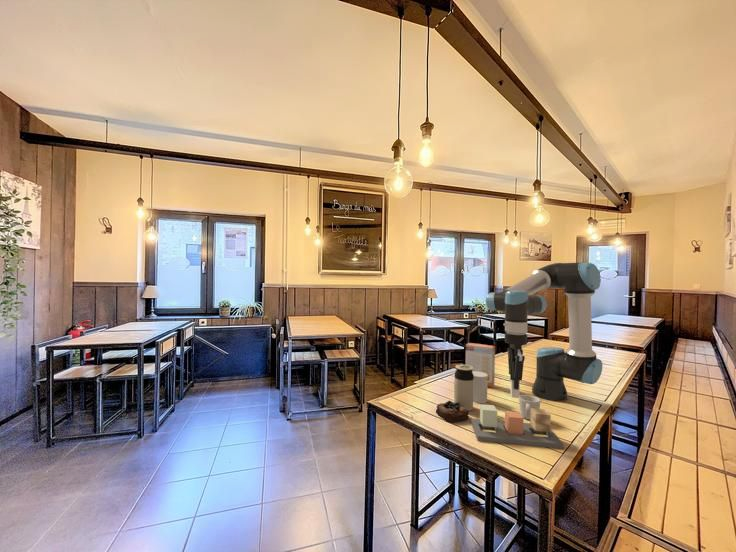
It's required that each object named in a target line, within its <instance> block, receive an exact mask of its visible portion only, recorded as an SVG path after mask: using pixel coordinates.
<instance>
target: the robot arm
mask: <svg viewBox="0 0 736 552" xmlns="http://www.w3.org/2000/svg"><path fill="white" fill-rule="evenodd" d="M601 282H602V281H601V274H600V270H599V269H598V267H597V266H596V265H595V264H594V263H592V262H583V261H582V262H555V263H551V264H547V265H545V266H543V267H540V268H538V269H536V270H534V271H533V272H531V274H530V275H529V276H527V277H526V278H524V279H522V280H520V281H519V282H517V283H514V284H513V285H510V286H509V287H508V288H505V289H504V290H501V291H499V292H496V291H495V292H489V293H487V295H486V297H485V305H486V307H487V309H489V310H490V311H496V312H504V314H505V315H504V323H503V326H504V343H506V344H507V345H509V347H507V349H506V350H507V359H508V361H507V363H508V375H510V376H509V377H510V378H509V379H510V397H511V398H513V399H514V398H515V399H517V398H518V399H519V396H520V395H521V394H520V393H521V392H520V391H521V390H520V389H521V387H520V385H521V384H520V383H521V381H523V374H524V373H523V372H524V362H525V360H526V358H525V357H526V356H525V355H524V351H523V348H522V346H526V345H528V334H527V333H528V329H529V328H528V317H529V316H530V315H531V316H534V315H539V314H542V313H544V312H545V311H546V309H547V305H548V303H547V301H546V298H545V297H544V296H542V295H540V294H536V293H537V292H539V291H542V290H543V291H545V290H546V289H547V290H548V289H550V288H551V289H552V288H554V289H555V288H556V289H558V288H559V289H563V293H564V294H565V295H566V296H567V308H568V309H567V310H568V311H567V313H568V339H569V340H568V341H569V348H567V349H566V350H565V348H563V347H555V346H554V347H553V346H546V347H540V348H538V349H537V350H536V356H535V358H536V373H535V375H536V376H535V379H534V382H533V385H532V387H531V393H532V394H533V396H534V395H535V397H537V398H541V399H544V400H550V401H555V402H557V401H559V402H560V401H566V400H567V399H568V392H567V388H566V384H565V382H564V379H567V380H572V381H575V382H579V383H582V384H587V385H594V384H596V383H597V382H598V381H599V380H600V378H601V375H602V372H603V361H602V360H601V359H600V358H597V353H596V351H594V350H593V337H592V335H593V334H592V332H593V331H592V296H594V295H595V293H596V290H598V289H599V288H600V286H601Z"/></svg>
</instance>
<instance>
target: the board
mask: <svg viewBox="0 0 736 552" xmlns="http://www.w3.org/2000/svg"><path fill="white" fill-rule="evenodd" d="M470 424H471V426H472V429H473V432H474V434H475V438H476V441H477V442H479V441H480V442H489V443H490V442H491V443H497V444H498V443H499V444H500V443H501V444H502V443H503V444H510V445H511V444H512V445H522V446H531V447H532V446H533V447H541V448H542V447H544V448H552V449H553V448H554V449H564V443H563V441H562V440H561V439H560V438H559V437H558V435H557V434H556V433H555V432H554V431H553V430H552V429H551V428H550V432H544V431H535V430H534V428H533V427H532V426H531V424H530V422H523V435H520V434H508V432H507V430H506V428H505V420H497V427H486V426H482V424H481V422H480V418H470ZM482 429H487V430H488V429H490V430H491V429H492V430H494V431H484V430H482ZM534 433H535V434H545V435H546V436H541V435H534Z"/></svg>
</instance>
